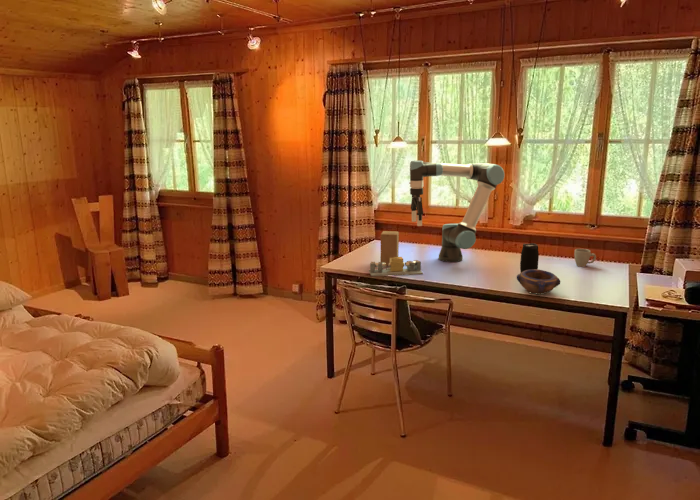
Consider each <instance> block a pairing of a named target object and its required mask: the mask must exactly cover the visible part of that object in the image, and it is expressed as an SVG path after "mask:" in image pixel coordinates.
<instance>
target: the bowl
mask: <svg viewBox="0 0 700 500" xmlns="http://www.w3.org/2000/svg"><path fill="white" fill-rule="evenodd" d="M516 280H517V282H518V283H519V284H520V285H521V286H522V288H523V289H525V291H526V292H528V293H529V292H531V293H530V294H532V293H537V294H536V295H541V293H544V294H548V293H549V292H551V291H552V290H554V289H555V288H557V287H558V286H559V285H561V280H560V278H559V277H557V276H556V275H555V274H554V273H552V272H550V271H547V270H543V269H539V268H538V269H532V270H525V271H523V272H519V273H518V274H517V275H516Z"/></svg>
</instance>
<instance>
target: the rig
mask: <svg viewBox="0 0 700 500" xmlns="http://www.w3.org/2000/svg"><path fill="white" fill-rule="evenodd" d="M368 272H370V269H369V270H368ZM369 274H370V276H371V277H389V276H388V275H394V276H414V275H417V276H418V275H424V272H423V271H422V269H421V270H420V271H417V270H415V269H414V271H411V272H410V271H408V270H407V268H403V271H401V272H390V267H385V269H384V268H383V271H382V273H378V269H375V272H370V273H369Z"/></svg>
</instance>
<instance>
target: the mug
mask: <svg viewBox="0 0 700 500" xmlns="http://www.w3.org/2000/svg"><path fill="white" fill-rule="evenodd" d="M591 251H592V250H590V249H587V248H575V249H574V262H575V264H576V265H575V266H577V267H581V268H582V267H586V266H587V265H588V264H593V263H594V262H595V261H596V259H597V255H596V253H593V252H592V253H591ZM590 257H593V258H592V260H591V261H589V260H590Z"/></svg>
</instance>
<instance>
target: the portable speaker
mask: <svg viewBox="0 0 700 500" xmlns="http://www.w3.org/2000/svg"><path fill="white" fill-rule="evenodd" d="M539 254H540V253H539V245H538V244H537V243H535V242H534V243H533V242H530V243H523V245H522V249H521V253H520V264H519V270H520V272H519V273H521V272H523V271H525V270H532V269H539V256H540V255H539Z"/></svg>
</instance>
